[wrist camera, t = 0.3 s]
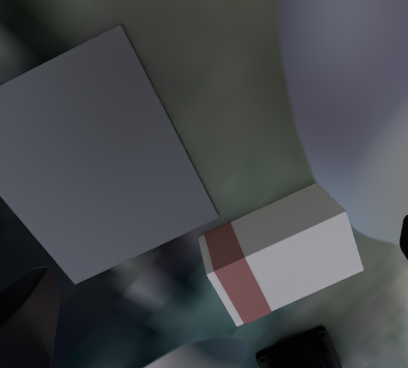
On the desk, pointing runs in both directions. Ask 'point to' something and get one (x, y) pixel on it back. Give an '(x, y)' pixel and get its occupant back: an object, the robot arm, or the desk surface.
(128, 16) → the desk surface
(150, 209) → the desk mat
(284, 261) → the card deck box
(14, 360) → the robot arm
